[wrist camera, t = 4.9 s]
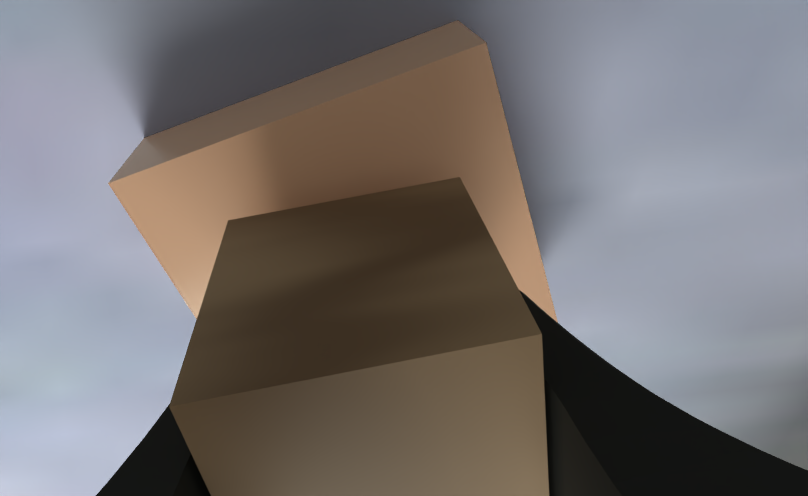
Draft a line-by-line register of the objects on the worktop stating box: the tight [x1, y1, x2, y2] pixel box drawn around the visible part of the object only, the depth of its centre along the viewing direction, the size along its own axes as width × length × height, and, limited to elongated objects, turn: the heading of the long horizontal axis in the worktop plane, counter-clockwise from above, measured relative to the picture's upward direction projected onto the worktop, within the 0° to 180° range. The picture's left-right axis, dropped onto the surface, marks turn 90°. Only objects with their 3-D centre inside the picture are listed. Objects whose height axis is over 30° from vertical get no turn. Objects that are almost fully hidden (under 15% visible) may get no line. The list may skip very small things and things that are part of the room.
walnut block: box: [169, 177, 549, 496], centre depth 10 cm, size 4×4×5 cm
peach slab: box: [108, 20, 558, 323], centre depth 15 cm, size 8×8×3 cm
